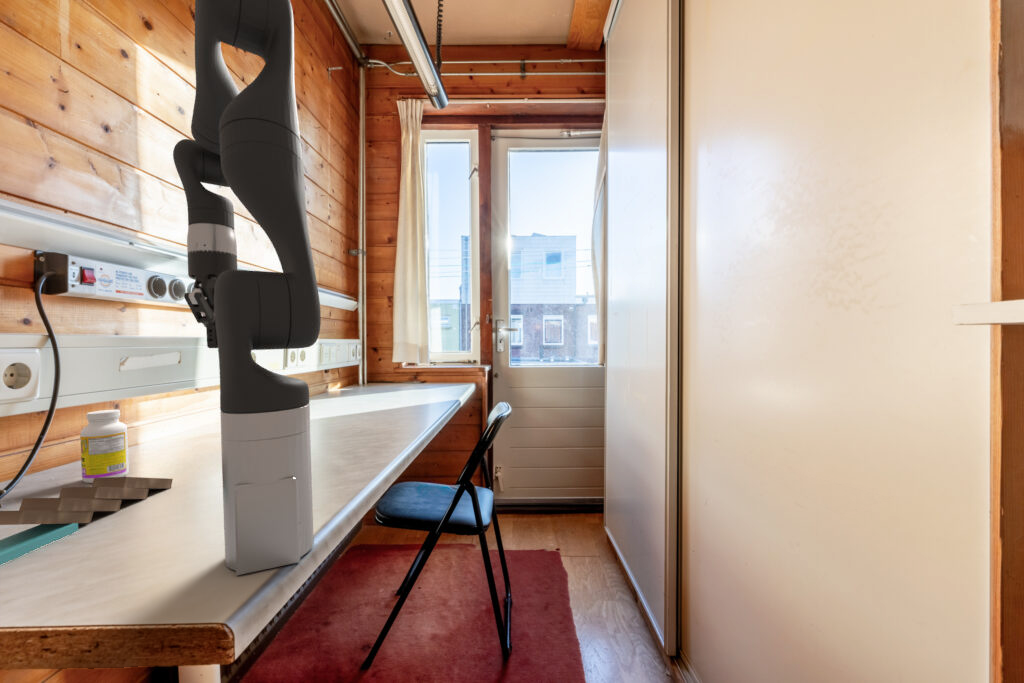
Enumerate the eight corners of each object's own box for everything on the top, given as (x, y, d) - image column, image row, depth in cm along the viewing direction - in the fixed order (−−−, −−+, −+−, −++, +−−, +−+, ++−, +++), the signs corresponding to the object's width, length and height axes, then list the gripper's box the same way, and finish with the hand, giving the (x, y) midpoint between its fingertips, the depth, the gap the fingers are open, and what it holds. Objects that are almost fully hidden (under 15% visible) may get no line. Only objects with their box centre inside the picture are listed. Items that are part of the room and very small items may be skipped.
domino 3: (118, 510, 68) (57, 510, 58) (85, 511, 68) (18, 511, 58) (121, 499, 68) (62, 497, 59) (88, 500, 68) (23, 498, 59)
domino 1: (90, 522, 63) (18, 524, 54) (54, 523, 63) (-25, 525, 54) (93, 510, 64) (23, 510, 54) (58, 511, 64) (-19, 511, 54)
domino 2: (78, 534, 61) (-9, 573, 51) (42, 535, 61) (-52, 574, 51) (78, 523, 61) (-10, 559, 51) (41, 523, 61) (-53, 560, 51)
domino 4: (146, 498, 73) (94, 498, 64) (115, 499, 73) (58, 499, 63) (148, 488, 74) (97, 486, 64) (117, 489, 73) (61, 487, 64)
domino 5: (170, 488, 78) (123, 487, 69) (142, 489, 78) (91, 488, 69) (172, 478, 79) (126, 476, 69) (144, 479, 79) (94, 477, 69)
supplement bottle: (91, 476, 87) (88, 410, 87) (134, 471, 90) (131, 407, 90) (75, 486, 81) (72, 415, 81) (121, 480, 84) (119, 412, 84)
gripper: (210, 243, 75) (214, 346, 75) (253, 259, 88) (256, 347, 88) (164, 245, 75) (168, 348, 74) (214, 261, 88) (217, 349, 88)
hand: (216, 347), depth 81 cm, fingers closed
